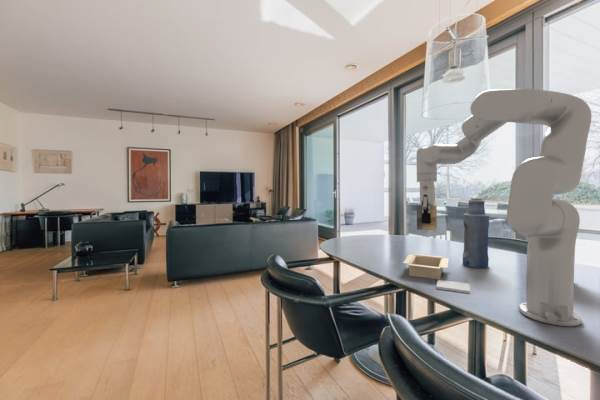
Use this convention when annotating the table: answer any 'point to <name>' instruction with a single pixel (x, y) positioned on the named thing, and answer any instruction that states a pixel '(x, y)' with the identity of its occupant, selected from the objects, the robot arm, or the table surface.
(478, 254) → the bottle
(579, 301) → the table surface
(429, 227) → the block
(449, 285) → the felt mat
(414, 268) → the carton
